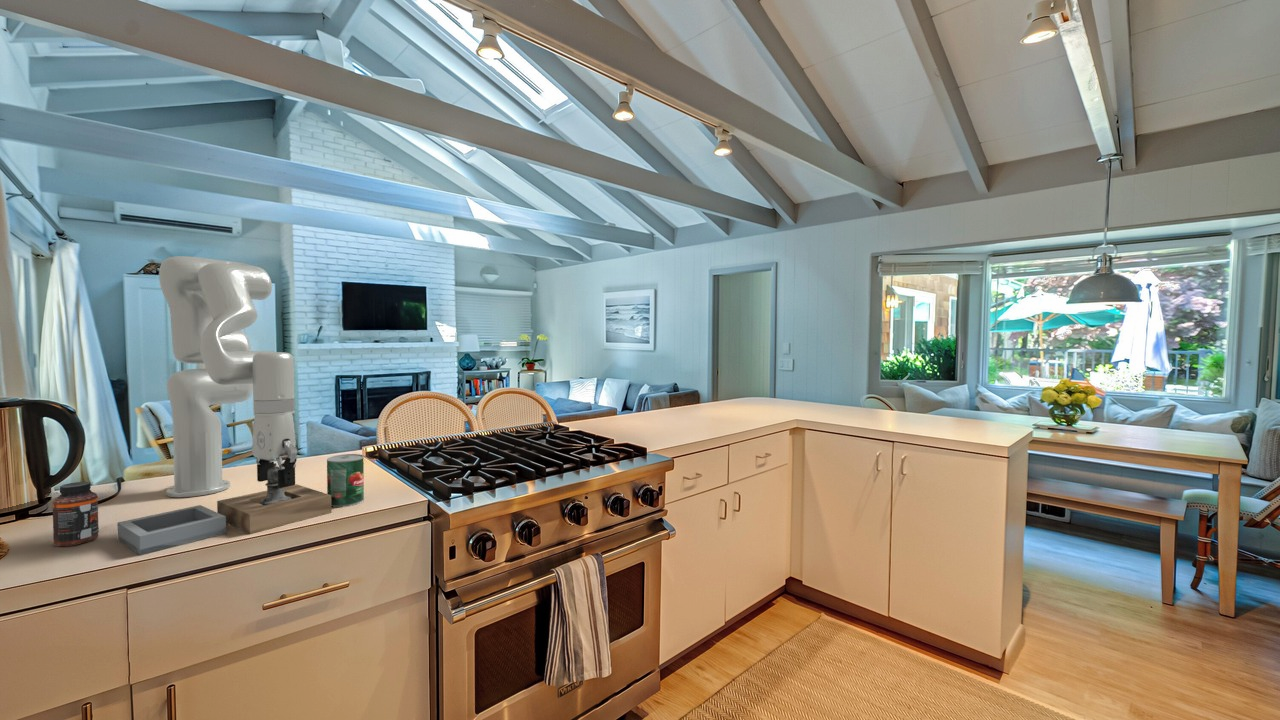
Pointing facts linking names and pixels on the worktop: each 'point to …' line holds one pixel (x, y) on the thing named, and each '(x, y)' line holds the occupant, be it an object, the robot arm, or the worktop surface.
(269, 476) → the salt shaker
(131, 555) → the worktop surface
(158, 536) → the tray
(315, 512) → the socket block
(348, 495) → the canned tomato
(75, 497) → the supplement bottle
